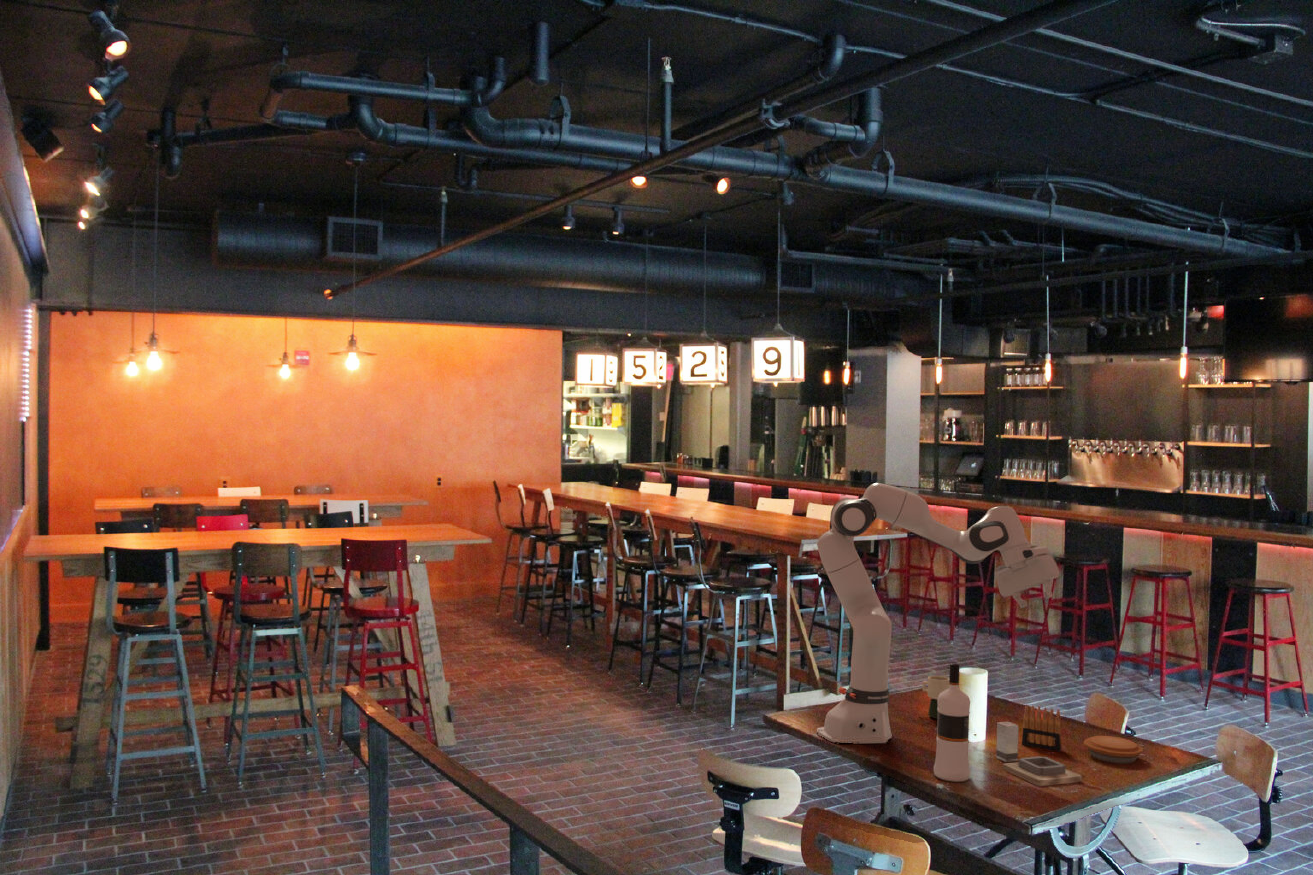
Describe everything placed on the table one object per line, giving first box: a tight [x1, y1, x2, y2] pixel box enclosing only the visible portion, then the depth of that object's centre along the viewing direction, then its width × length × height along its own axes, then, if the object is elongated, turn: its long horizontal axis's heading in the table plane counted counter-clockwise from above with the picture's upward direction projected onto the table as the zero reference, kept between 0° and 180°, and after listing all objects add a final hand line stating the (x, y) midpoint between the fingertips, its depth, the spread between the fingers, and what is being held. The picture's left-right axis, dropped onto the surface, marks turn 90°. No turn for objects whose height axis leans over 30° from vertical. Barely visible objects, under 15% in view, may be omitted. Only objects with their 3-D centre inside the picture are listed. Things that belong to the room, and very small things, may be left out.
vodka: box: [933, 662, 971, 783], centre depth 264 cm, size 9×9×30 cm
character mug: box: [921, 675, 949, 720], centre depth 322 cm, size 11×7×13 cm, turn 57°
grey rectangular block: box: [995, 721, 1019, 763], centre depth 280 cm, size 4×4×10 cm
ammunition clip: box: [1021, 704, 1062, 752], centre depth 293 cm, size 11×2×12 cm, turn 58°
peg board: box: [1002, 755, 1083, 787], centre depth 267 cm, size 14×14×4 cm
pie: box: [1083, 735, 1144, 765], centre depth 285 cm, size 15×16×5 cm
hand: (1036, 602), depth 292 cm, fingers open, 8 cm apart
